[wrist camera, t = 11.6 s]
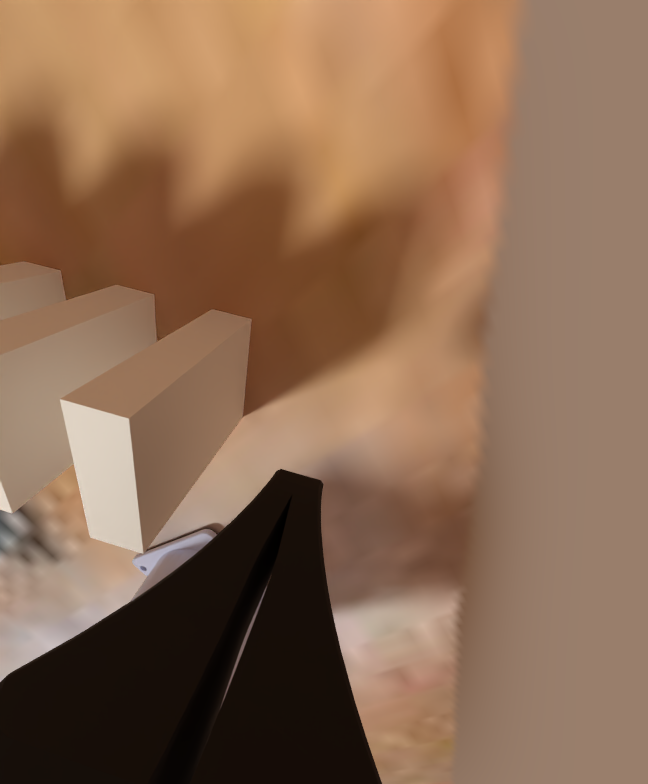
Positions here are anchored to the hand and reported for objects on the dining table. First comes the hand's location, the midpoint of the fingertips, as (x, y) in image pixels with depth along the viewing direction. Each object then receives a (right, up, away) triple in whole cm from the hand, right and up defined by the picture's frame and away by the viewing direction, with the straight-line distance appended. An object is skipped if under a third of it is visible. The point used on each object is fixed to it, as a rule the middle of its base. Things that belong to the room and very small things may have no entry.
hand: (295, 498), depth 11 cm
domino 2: (-8, +6, +6) cm, 12 cm away
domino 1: (-4, +4, +6) cm, 8 cm away
